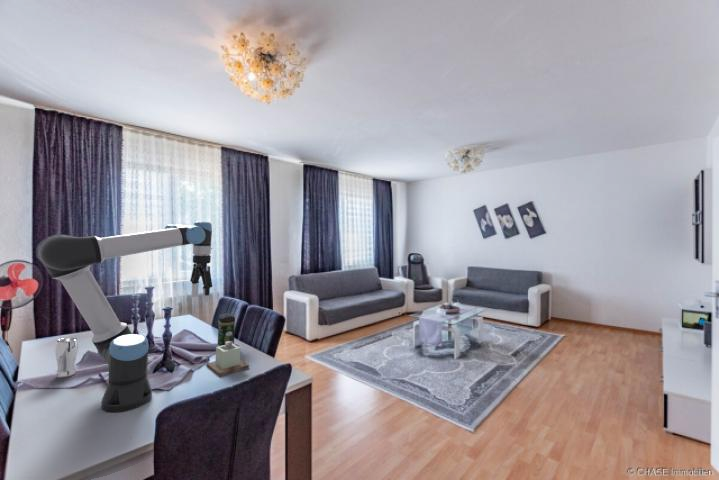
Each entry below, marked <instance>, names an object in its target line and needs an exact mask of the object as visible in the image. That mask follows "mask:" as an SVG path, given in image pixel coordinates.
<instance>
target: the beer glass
mask: <svg viewBox="0 0 719 480" xmlns="http://www.w3.org/2000/svg"><path fill="white" fill-rule="evenodd" d="M78 345H79V344H78V338H77V337H73V336H72V337H64V338H61V339H58V340H56V343H55V360H56V363H57V372H56V378H58V379H59V378H61V379H62V378H67V377H71V376H73V375H75V374H76V373H77V372H76V366H75V363H76V359H77V355H78V352H79V351H78V350H79V349H78V348H79V346H78Z"/></svg>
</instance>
